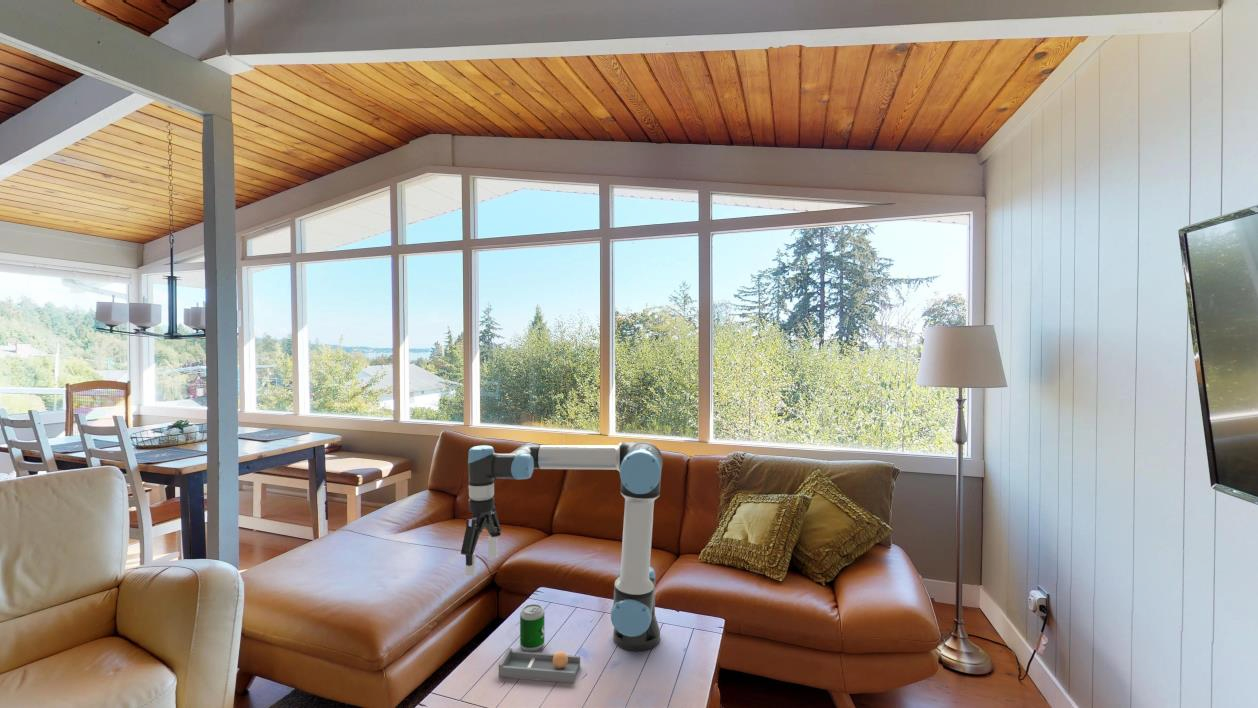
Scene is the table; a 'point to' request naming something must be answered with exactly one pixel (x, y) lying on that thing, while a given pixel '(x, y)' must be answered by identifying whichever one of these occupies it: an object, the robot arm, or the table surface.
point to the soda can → (532, 627)
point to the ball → (560, 660)
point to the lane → (537, 666)
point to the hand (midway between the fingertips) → (482, 565)
